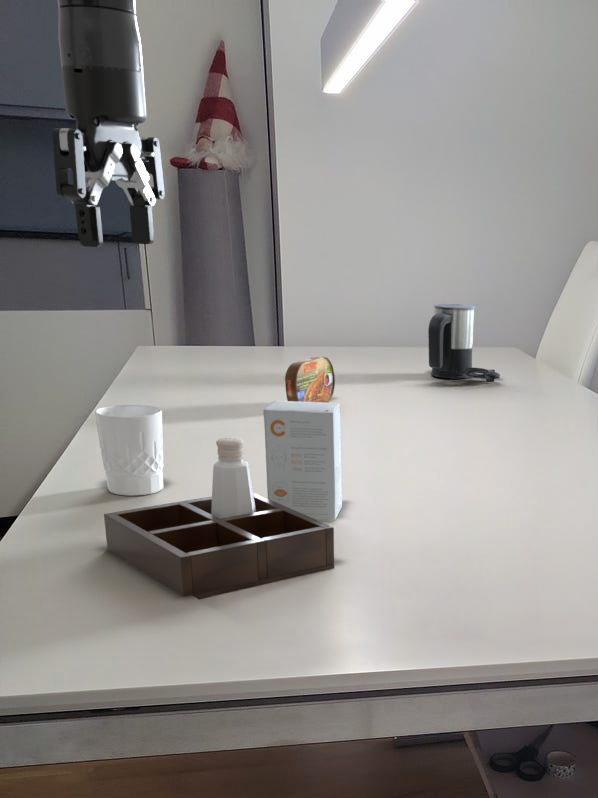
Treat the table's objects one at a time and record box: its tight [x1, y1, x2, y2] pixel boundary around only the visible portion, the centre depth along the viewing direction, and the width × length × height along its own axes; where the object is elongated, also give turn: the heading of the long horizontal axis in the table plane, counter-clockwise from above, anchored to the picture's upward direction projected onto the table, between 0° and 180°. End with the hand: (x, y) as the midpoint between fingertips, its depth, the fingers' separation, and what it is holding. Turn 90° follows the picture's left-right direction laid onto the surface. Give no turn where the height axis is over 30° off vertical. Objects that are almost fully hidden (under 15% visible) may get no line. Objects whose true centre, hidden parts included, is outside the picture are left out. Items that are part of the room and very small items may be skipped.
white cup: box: [94, 404, 164, 497], centre depth 130 cm, size 8×8×10 cm
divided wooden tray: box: [103, 492, 335, 600], centre depth 107 cm, size 17×17×4 cm
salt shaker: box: [211, 436, 256, 519], centre depth 111 cm, size 5×5×11 cm
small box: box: [262, 400, 343, 522], centre depth 123 cm, size 8×6×13 cm
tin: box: [284, 356, 336, 403], centre depth 186 cm, size 15×3×8 cm, turn 161°
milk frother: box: [427, 303, 501, 383], centre depth 220 cm, size 14×16×15 cm
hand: (118, 245), depth 106 cm, fingers open, 8 cm apart
